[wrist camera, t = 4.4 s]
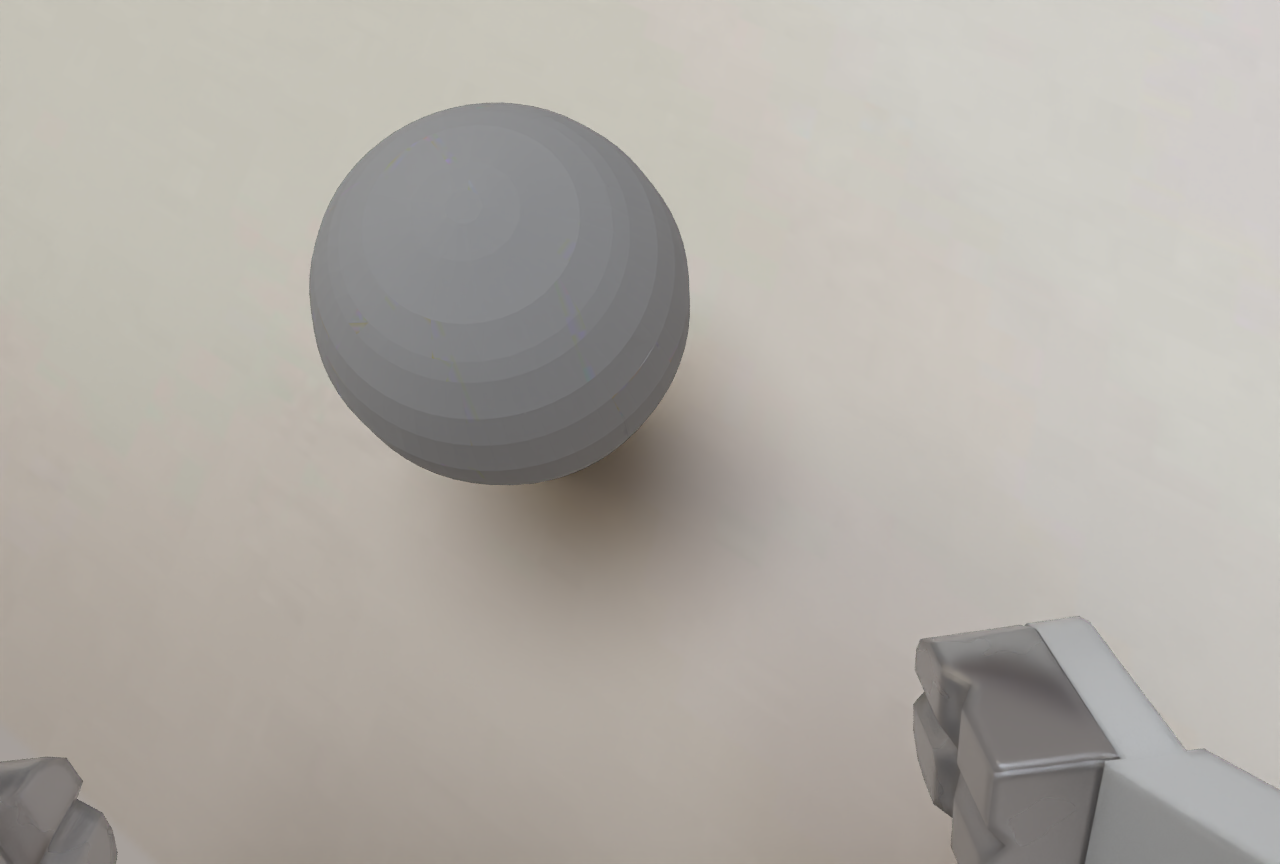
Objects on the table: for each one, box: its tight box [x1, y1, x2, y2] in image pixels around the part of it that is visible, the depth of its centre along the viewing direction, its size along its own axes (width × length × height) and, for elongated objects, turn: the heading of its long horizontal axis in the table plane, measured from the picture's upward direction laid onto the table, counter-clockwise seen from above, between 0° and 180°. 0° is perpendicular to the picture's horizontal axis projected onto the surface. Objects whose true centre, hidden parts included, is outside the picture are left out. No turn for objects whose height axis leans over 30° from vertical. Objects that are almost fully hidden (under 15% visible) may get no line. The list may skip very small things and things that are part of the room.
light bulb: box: [309, 103, 690, 485], centre depth 16 cm, size 5×5×10 cm
